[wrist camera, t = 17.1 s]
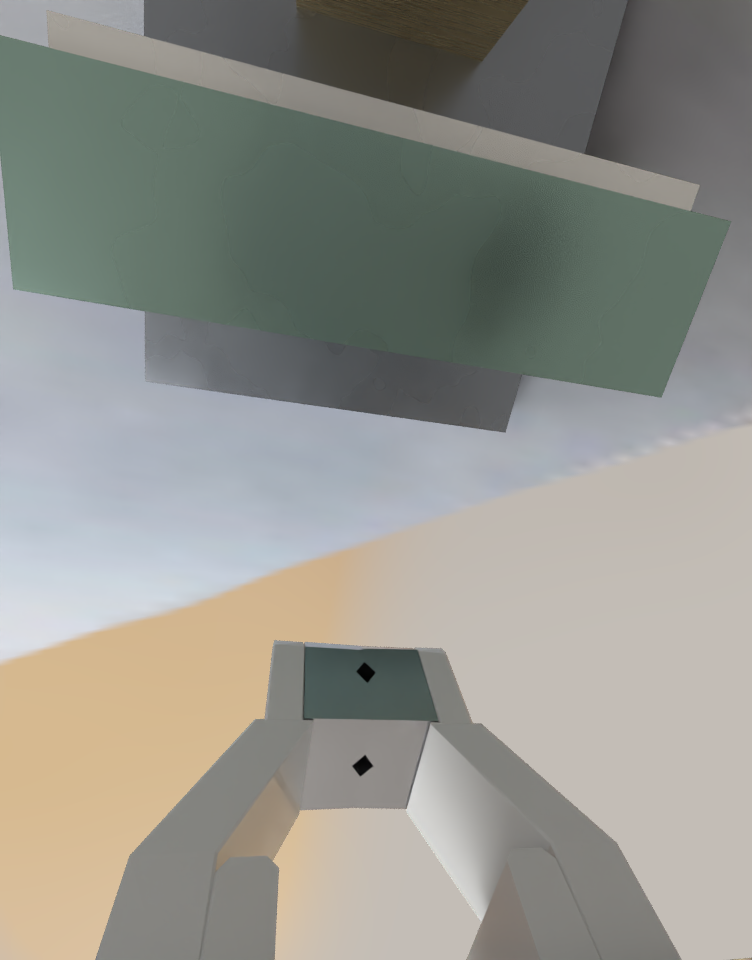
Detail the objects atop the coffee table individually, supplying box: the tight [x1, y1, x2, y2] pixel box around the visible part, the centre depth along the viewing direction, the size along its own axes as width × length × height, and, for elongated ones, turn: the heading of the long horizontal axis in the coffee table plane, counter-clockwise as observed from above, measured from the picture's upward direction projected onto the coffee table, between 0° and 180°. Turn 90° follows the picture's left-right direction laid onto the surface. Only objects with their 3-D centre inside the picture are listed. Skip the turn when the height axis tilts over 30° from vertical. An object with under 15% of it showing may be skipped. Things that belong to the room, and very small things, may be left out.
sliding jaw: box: [0, 10, 731, 397], centre depth 10 cm, size 4×11×6 cm, turn 80°
